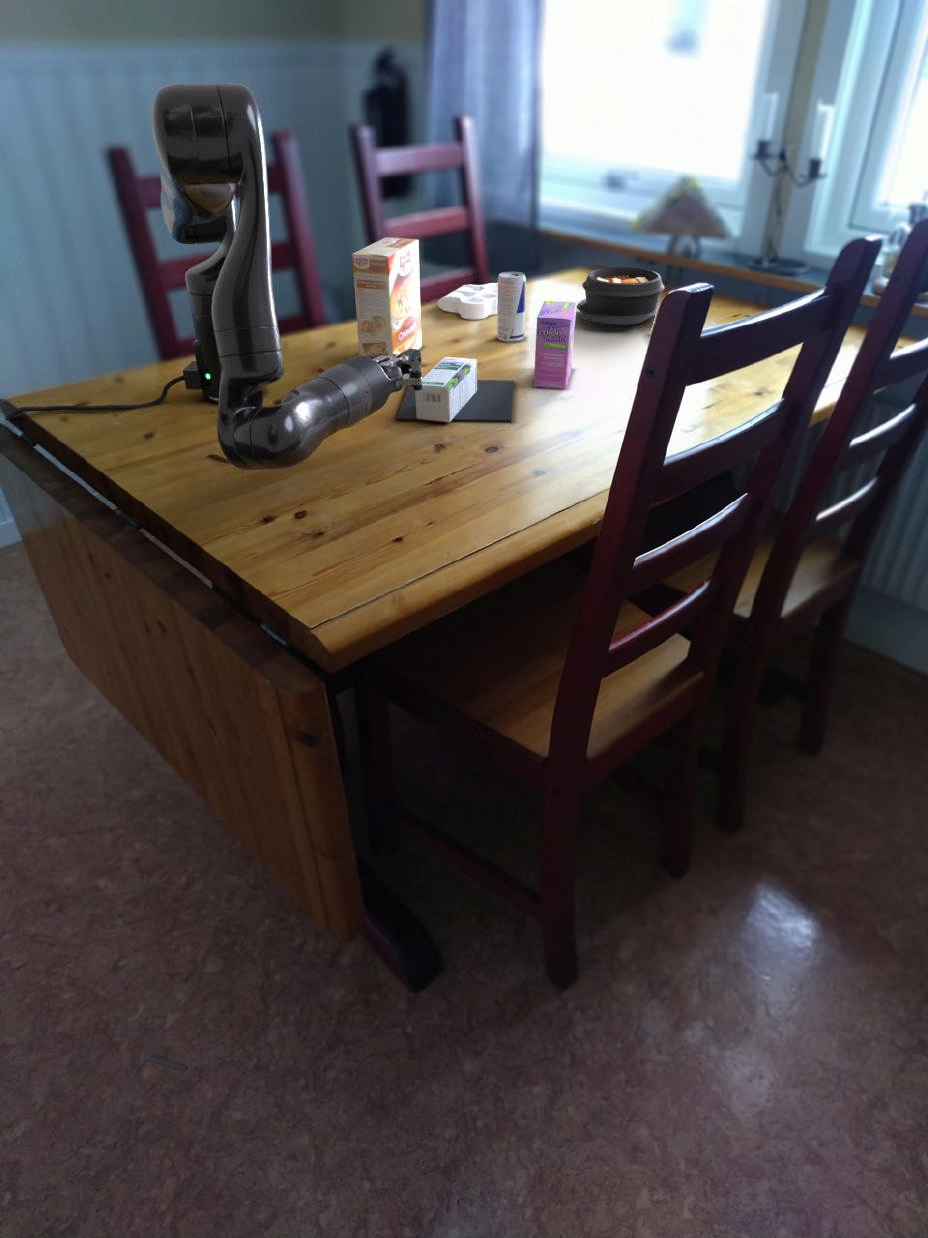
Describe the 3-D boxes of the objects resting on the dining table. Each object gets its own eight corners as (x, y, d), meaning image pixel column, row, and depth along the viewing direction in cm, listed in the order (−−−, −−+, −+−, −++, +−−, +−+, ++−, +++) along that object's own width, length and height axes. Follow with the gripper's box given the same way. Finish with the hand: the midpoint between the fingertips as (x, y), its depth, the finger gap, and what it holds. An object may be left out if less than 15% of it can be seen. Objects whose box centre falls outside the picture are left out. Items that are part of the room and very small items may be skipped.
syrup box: (413, 384, 129) (444, 353, 141) (415, 420, 133) (445, 388, 144) (449, 387, 128) (477, 356, 139) (450, 424, 131) (478, 391, 143)
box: (566, 389, 144) (571, 318, 137) (533, 387, 145) (536, 316, 138) (572, 369, 153) (577, 301, 146) (541, 367, 154) (543, 300, 147)
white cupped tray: (464, 294, 196) (524, 300, 191) (431, 315, 182) (494, 322, 177) (464, 279, 194) (524, 285, 189) (430, 298, 180) (494, 305, 175)
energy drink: (528, 336, 169) (530, 273, 162) (515, 343, 165) (517, 279, 158) (505, 332, 171) (506, 270, 164) (491, 339, 168) (492, 275, 161)
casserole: (655, 337, 168) (660, 293, 163) (563, 329, 173) (565, 286, 168) (673, 304, 187) (678, 264, 182) (590, 298, 192) (592, 258, 187)
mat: (397, 420, 134) (396, 418, 133) (410, 381, 148) (410, 379, 148) (511, 422, 133) (511, 419, 132) (513, 382, 147) (513, 380, 147)
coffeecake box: (394, 371, 153) (388, 255, 142) (358, 367, 155) (349, 253, 144) (423, 346, 165) (420, 238, 153) (390, 343, 166) (383, 235, 155)
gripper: (388, 372, 105) (455, 335, 117) (302, 357, 110) (375, 323, 123) (391, 430, 109) (456, 388, 122) (308, 412, 114) (379, 374, 127)
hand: (415, 355), depth 122 cm, fingers closed
